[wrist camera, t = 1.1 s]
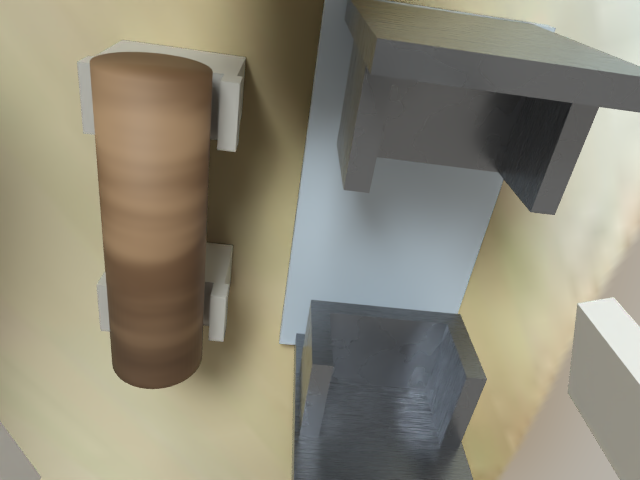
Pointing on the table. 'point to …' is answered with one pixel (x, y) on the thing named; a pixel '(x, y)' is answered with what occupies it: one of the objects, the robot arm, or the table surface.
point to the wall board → (378, 212)
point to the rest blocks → (227, 133)
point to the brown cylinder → (153, 209)
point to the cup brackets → (448, 150)
